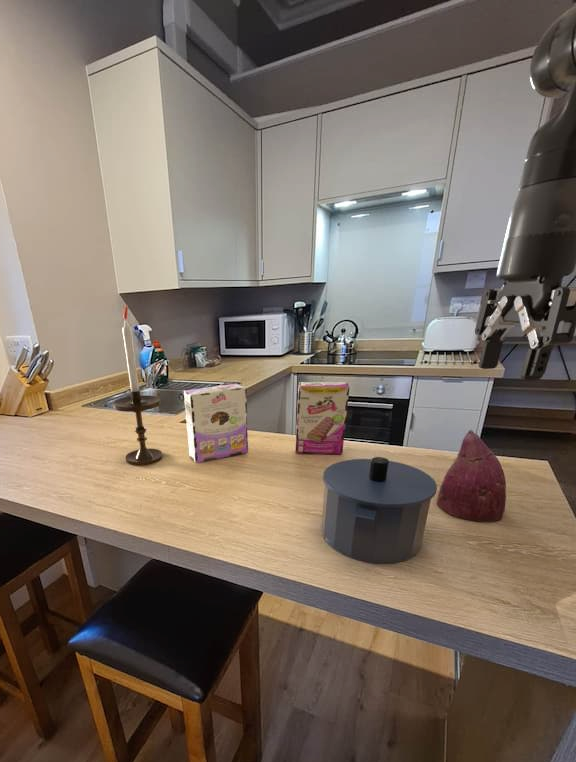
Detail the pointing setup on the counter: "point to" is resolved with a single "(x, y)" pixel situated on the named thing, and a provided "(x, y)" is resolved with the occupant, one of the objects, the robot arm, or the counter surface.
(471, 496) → the vegetable
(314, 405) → the candy bar box
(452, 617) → the counter surface
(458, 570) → the counter surface
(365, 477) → the pot lid
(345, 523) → the pot
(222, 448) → the candy box
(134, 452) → the candlestick
